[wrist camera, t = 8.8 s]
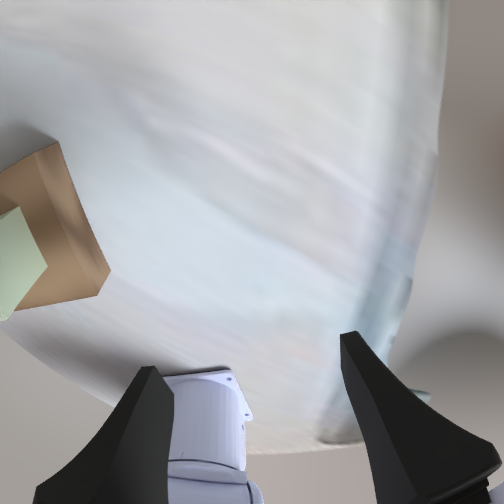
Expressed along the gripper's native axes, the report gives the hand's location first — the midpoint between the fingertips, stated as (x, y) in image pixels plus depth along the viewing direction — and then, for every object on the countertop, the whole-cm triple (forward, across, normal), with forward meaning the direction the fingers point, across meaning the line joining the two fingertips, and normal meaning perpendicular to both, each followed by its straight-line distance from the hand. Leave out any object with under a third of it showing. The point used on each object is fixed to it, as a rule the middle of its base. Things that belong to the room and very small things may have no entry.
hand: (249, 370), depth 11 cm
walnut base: (+10, +15, -5) cm, 19 cm away
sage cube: (+7, +15, -5) cm, 18 cm away
